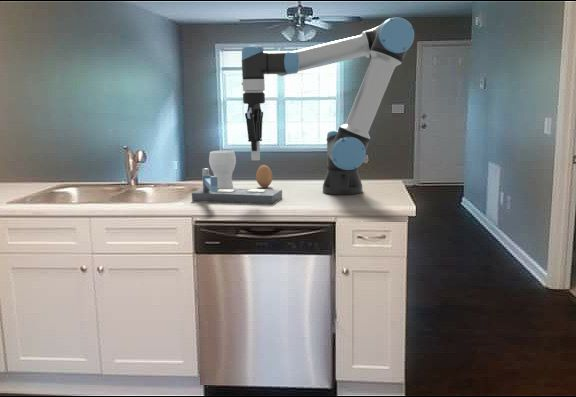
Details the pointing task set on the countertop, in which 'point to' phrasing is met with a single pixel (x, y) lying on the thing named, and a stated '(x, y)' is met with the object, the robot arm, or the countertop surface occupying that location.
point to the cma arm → (210, 182)
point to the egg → (264, 176)
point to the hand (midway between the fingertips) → (255, 159)
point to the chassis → (236, 194)
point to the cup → (223, 167)
